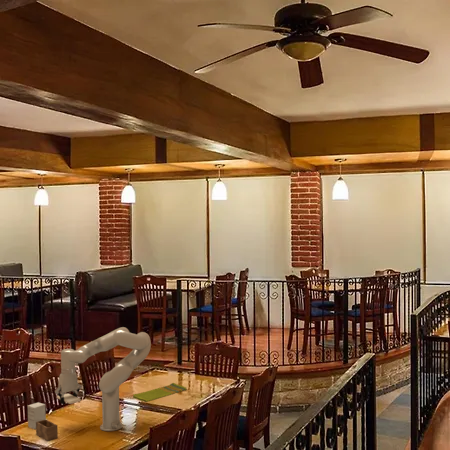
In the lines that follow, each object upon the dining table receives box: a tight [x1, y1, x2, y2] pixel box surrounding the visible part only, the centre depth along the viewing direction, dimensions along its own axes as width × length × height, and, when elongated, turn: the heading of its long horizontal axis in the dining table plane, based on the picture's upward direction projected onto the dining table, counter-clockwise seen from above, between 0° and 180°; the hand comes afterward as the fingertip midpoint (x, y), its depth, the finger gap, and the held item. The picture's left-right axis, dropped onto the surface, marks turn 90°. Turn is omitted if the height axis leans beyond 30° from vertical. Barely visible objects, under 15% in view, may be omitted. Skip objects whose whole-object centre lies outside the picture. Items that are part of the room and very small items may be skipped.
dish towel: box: [132, 382, 187, 403], centre depth 384 cm, size 15×36×3 cm, turn 135°
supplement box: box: [27, 401, 47, 430], centre depth 326 cm, size 7×7×13 cm
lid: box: [56, 393, 81, 405], centre depth 320 cm, size 15×7×2 cm, turn 42°
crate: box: [35, 419, 59, 442], centre depth 310 cm, size 14×6×7 cm, turn 42°
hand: (68, 402), depth 320 cm, fingers closed on lid, 7 cm apart
